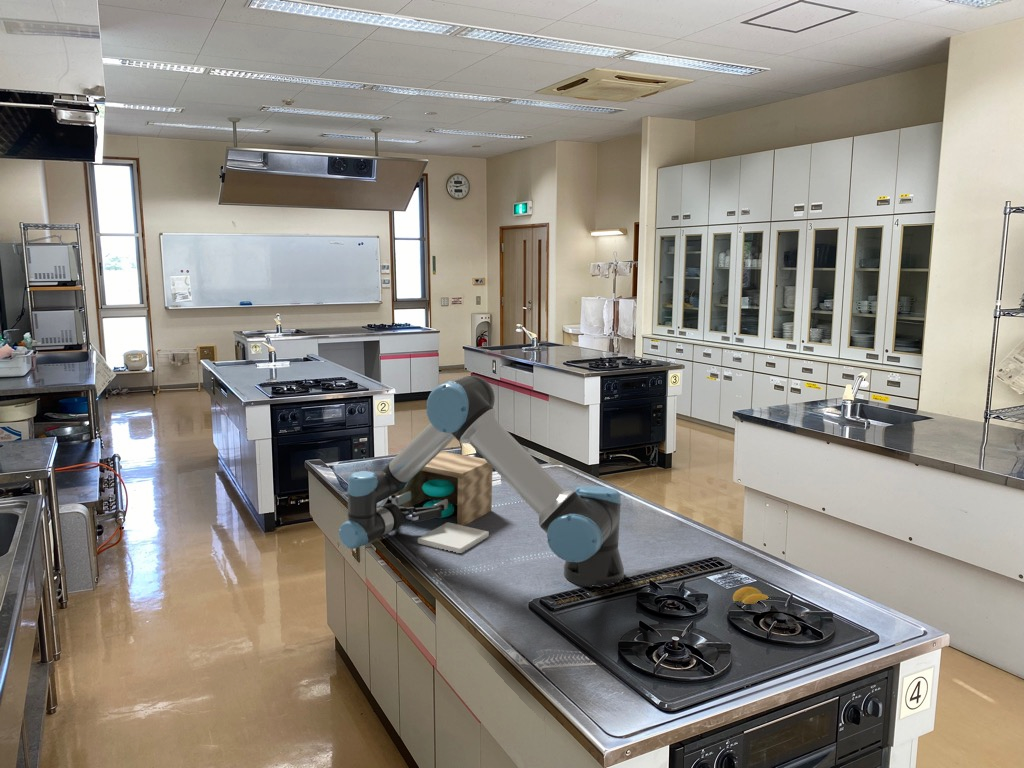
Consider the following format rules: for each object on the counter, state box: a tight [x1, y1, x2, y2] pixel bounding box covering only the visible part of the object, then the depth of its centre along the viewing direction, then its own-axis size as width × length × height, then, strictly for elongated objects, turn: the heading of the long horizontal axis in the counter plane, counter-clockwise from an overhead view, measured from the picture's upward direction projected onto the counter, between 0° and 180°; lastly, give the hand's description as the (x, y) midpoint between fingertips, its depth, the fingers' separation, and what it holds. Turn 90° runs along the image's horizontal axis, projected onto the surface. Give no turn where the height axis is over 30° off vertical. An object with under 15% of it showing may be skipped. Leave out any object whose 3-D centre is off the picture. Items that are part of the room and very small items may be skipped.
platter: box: [417, 522, 490, 554], centre depth 209 cm, size 15×14×2 cm
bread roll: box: [732, 586, 770, 604], centre depth 174 cm, size 8×9×4 cm
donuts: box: [422, 479, 455, 519], centre depth 229 cm, size 10×10×10 cm
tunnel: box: [394, 450, 493, 526], centre depth 231 cm, size 18×25×16 cm
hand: (428, 499), depth 225 cm, fingers open, 13 cm apart
